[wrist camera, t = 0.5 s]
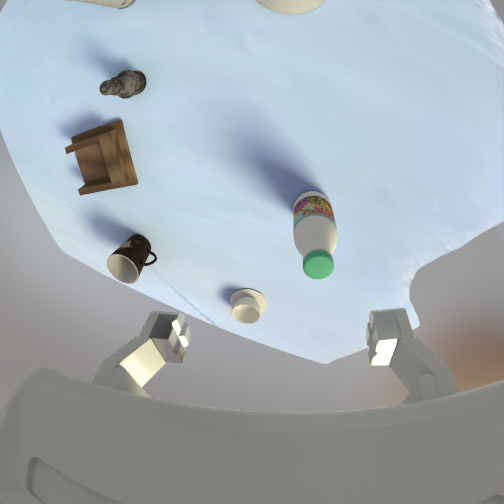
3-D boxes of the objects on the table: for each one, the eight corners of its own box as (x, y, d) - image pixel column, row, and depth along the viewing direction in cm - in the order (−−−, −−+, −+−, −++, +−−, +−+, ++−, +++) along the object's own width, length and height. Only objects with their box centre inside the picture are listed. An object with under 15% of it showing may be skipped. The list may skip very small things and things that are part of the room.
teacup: (230, 285, 73) (227, 297, 69) (269, 290, 72) (267, 303, 68) (229, 311, 78) (226, 323, 75) (265, 316, 78) (263, 329, 74)
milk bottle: (331, 222, 58) (343, 286, 42) (295, 224, 60) (294, 289, 44) (330, 188, 54) (345, 244, 38) (291, 191, 56) (289, 248, 40)
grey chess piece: (147, 95, 47) (115, 103, 37) (123, 97, 47) (88, 107, 38) (147, 67, 44) (114, 70, 34) (122, 71, 44) (87, 75, 34)
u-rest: (73, 136, 53) (59, 143, 49) (121, 119, 50) (107, 125, 46) (90, 191, 61) (78, 202, 57) (138, 182, 59) (126, 193, 54)
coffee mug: (125, 252, 71) (107, 276, 63) (125, 226, 66) (106, 249, 58) (164, 266, 72) (149, 292, 64) (167, 240, 67) (151, 265, 59)
